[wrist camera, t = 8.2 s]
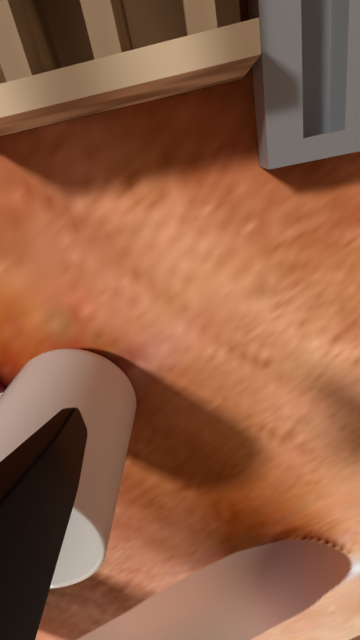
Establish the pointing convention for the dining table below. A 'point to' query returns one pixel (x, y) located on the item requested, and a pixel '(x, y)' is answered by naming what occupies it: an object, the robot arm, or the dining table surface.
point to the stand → (306, 80)
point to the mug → (101, 447)
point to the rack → (114, 54)
